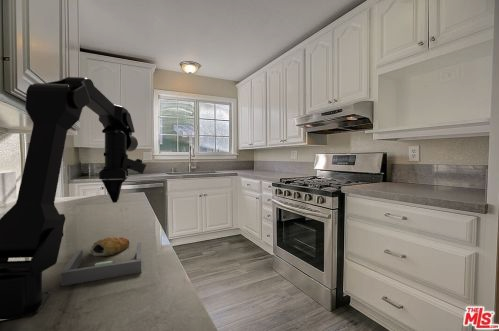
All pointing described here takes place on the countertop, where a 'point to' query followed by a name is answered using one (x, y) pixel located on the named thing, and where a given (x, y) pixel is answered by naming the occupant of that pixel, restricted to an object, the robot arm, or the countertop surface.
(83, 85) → the robot arm
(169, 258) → the countertop surface
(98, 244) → the pastry
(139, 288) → the countertop surface
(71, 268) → the dock
